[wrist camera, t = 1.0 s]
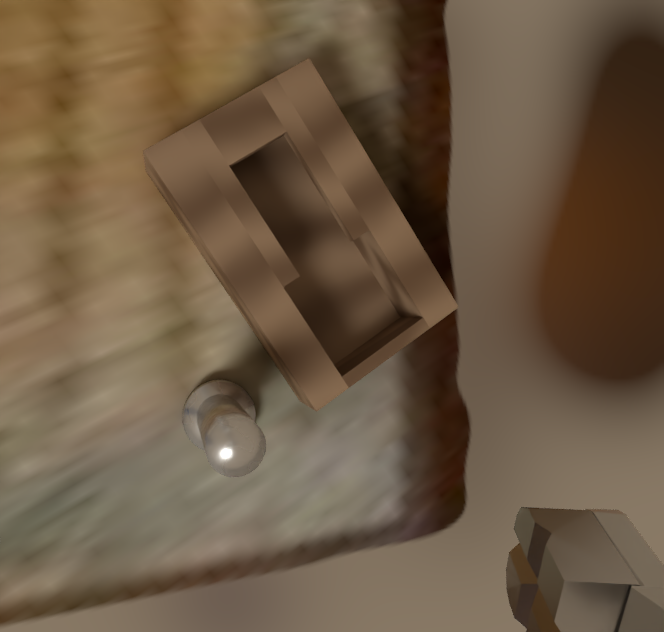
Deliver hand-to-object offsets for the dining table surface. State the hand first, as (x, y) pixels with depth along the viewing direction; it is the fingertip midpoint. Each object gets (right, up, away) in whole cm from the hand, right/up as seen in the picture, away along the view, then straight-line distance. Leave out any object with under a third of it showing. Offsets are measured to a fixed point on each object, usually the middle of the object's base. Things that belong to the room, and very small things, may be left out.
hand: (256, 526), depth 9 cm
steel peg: (-8, -5, +37) cm, 39 cm away
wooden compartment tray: (-2, +9, +39) cm, 40 cm away
